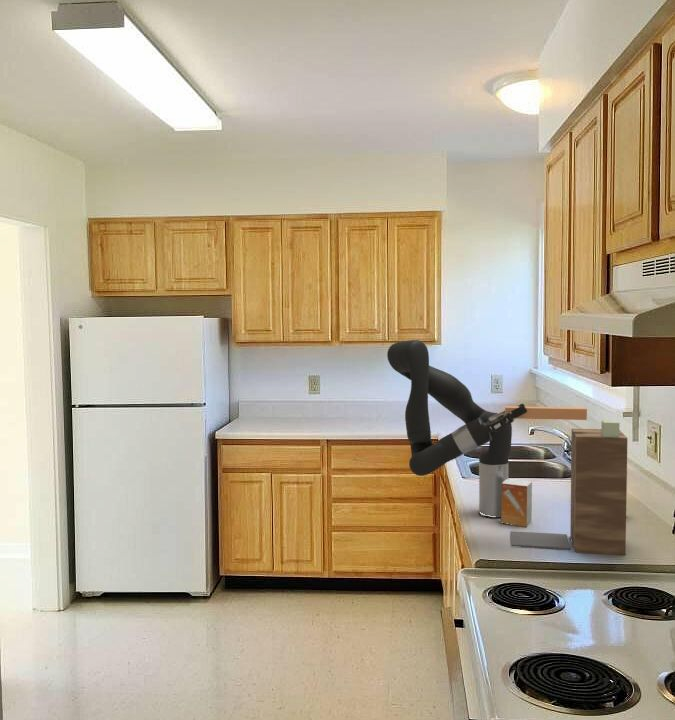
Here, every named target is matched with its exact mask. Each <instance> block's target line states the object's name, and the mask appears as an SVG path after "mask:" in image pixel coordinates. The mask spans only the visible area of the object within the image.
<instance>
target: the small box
mask: <svg viewBox="0 0 675 720" xmlns="http://www.w3.org/2000/svg"><path fill="white" fill-rule="evenodd" d="M532 490H533V481H529V480H521V479H509V478H508V479H506V480H505V481H504V482H503V483H502V502H501V518H500V519H501V522H503V523H508V524H507V525H509V524H512V525H511V526H515V525H519V526H518V527H522V526H525V527H524V528H527V527H529V525H530V524H531V523H532V514H533V513H532V511H533V510H532V507H533V501H532V500H533V492H532ZM501 522H500V523H501ZM530 522H531V523H530Z"/></svg>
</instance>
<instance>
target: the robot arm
mask: <svg viewBox="0 0 675 720" xmlns="http://www.w3.org/2000/svg"><path fill="white" fill-rule="evenodd" d="M386 357H387V360H388V361H387V362H388V363H389V365H390V366H391V367H392V369H393V370H394V371H396V372H397V373H398V374H400V375H402V376H404V377H405V378H407V379H408V380H410V392H409V396H408V400H407V403H406V407H405V414H404V421H405V428H406V436H407V439H408V441H409V444H410V452H411V457H410V459H409V462H408V464H409V470H410V471H411V472H412V473H413V474H414V475H416V476H418V477H419V476H420V477H423V476H424V477H425V476H427V475H429V474H432V473H433V472H434V471H436V470H438V469H439V468H441V467H443V466H444V465H445V464H447V463H448V462H451V461H454V460H455V459H457V458H459V457H461V456H463V455H465V454H467V453H470V452H472V451H474V450H476V449H478V448H479V447H481V446H484V445H486V444H488V443H489V444H488V449H487V450H483V451H481V452H480V453H479V455H478V456H479V457H478V464H479V465H478V470H479V472H478V473H479V474H478V476H479V477H478V479H479V480H478V484H479V485H478V488H479V489H478V492H479V493H478V494H479V495H478V502H479V503H478V509H479V510H478V512H479V511H480V512H481V513H483V514H485V515H490V516H496V517H501V502H502V483H503V482H504V481H505V480H506V479H509V457H510V456H511V451H512V437H513V427H512V423H513V422H514V421H515V420H516V419H518V418H517V417H519V416H521V415H523V414H525V413H526V412H527V410H526V408H525V407H526V405H525V404H524V403H520V404H518V405H517V406H520V407H518V408H517V409H515V410H513V411H512V412H511V411H510V412H508V413H506V414H505V410H503V411H501V412H499V413H498V412H491V411H488V410H485V409H484V408H483V407H482V406H480V405H478V404H477V403H476V402H475V401H474V400H473V397H472V393H471V391H470V390H469V388H468V387H467V386H466V385H465V384H464V383H463V382H461V381H460V380H459V379H458V378H456V377H455V376H454V375H452V374H450V373H448V372H447V371H444V370H441V369H439V368H436V367H434V366H431V365H430V355H429V350H428V347H427V346H426V343H424V342H423V341H421V340H418V339H412V340H402V341H397V342H394V343H393V344H391V345H390V346H389V347H388V350H387V355H386ZM429 396H431V397H432V398H433V399H434V400H435V401H436V402H437V403H439V404H440V405H441V406H442V407H444V408H445V409H446V410H448V411H449V412H451V413H452V414H453V415H454V416H456V417H457V418H458V419H460V420H461V421H462V422H463V423H464V424H463V425H462V426H460V427H458V428H456V429H455V430H454V431H452V432H450V433H449V434H447V435H445V436H443V437H442V438H440V439H438V440H437V441H436V442H435V443H434V444H433V441H432V431H431V423H430V414H429ZM506 417H507V418H506Z"/></svg>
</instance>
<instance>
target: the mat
mask: <svg viewBox="0 0 675 720" xmlns="http://www.w3.org/2000/svg"><path fill="white" fill-rule="evenodd" d="M510 546H521V547H520V548H527V547H534V548H533V549H544V548H545V549H549V550H565V551H571V550H572V548H571V547H572V546H571V544H570V540H569V537H568V534H567V533H553V532H552V533H549V532H533V531H532V532H531V531H516V530H513V531H512V530H511V531H510Z"/></svg>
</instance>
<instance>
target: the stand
mask: <svg viewBox="0 0 675 720" xmlns="http://www.w3.org/2000/svg"><path fill="white" fill-rule="evenodd" d="M570 442H571V444H570V447H571V451H570V453H571V454H570V525H569V526H570V527H569V528H570V532H569V533H570V540H572V541H571V544H572V547H573V550H574V552H575V553H585V554H586V553H587V554H602V555H618V556H619V555H621V556H626V553H627V552H626V550H627V549H626V548H627V547H626V543H627V541H626V539H627V534H626V533H627V511H626V508H627V497H628V495H627V492H628V491H627V490H628V488H627V487H628V437H627V436H626V435H625V434H624V432H622V431H621V430H620V429H619V438H613V437H603V436H602V435H601V429H600V428H597V429H596V428H571V440H570Z"/></svg>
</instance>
